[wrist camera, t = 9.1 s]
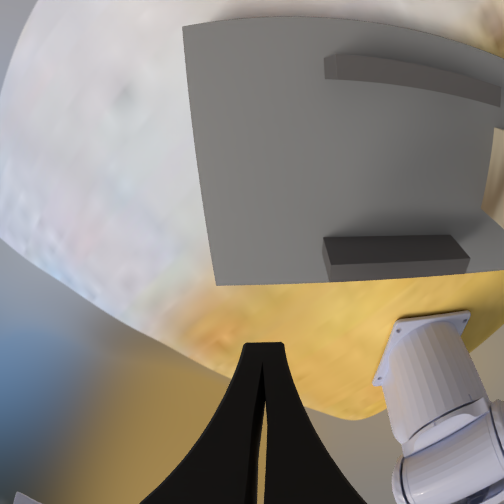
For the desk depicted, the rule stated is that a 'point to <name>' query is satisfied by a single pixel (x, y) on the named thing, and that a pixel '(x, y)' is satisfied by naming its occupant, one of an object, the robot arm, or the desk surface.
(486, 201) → the maple block
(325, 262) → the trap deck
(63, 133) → the desk surface
